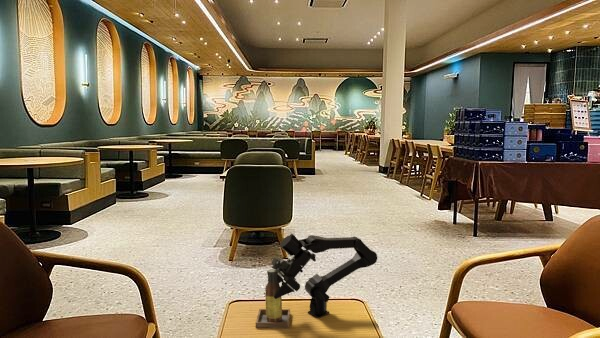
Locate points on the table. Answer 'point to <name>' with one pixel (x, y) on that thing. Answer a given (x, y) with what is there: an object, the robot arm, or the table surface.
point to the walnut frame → (263, 322)
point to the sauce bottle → (271, 303)
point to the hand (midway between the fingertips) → (271, 293)
